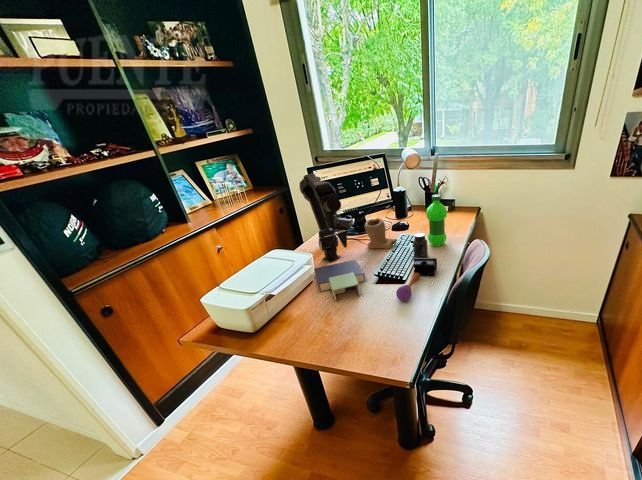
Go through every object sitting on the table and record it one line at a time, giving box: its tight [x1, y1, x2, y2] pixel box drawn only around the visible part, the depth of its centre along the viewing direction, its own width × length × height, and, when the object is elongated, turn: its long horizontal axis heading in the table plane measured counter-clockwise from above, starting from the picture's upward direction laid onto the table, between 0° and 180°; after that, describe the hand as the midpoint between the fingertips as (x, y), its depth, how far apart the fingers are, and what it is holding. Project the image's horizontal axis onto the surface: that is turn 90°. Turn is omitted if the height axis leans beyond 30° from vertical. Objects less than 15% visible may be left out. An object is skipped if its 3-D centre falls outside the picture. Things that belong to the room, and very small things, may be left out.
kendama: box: [395, 272, 421, 302], centre depth 133 cm, size 6×6×20 cm
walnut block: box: [345, 286, 356, 293], centre depth 139 cm, size 4×4×4 cm
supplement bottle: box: [412, 232, 429, 259], centre depth 156 cm, size 7×7×12 cm
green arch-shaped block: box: [329, 272, 361, 302], centre depth 136 cm, size 6×11×10 cm
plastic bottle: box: [425, 194, 448, 247], centre depth 164 cm, size 10×10×25 cm
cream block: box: [335, 288, 346, 295], centre depth 138 cm, size 4×4×4 cm
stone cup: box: [364, 217, 398, 249], centre depth 170 cm, size 15×12×15 cm
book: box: [313, 259, 366, 293], centre depth 147 cm, size 16×20×4 cm
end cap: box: [412, 257, 438, 278], centre depth 145 cm, size 10×7×7 cm
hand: (341, 249), depth 145 cm, fingers open, 9 cm apart
